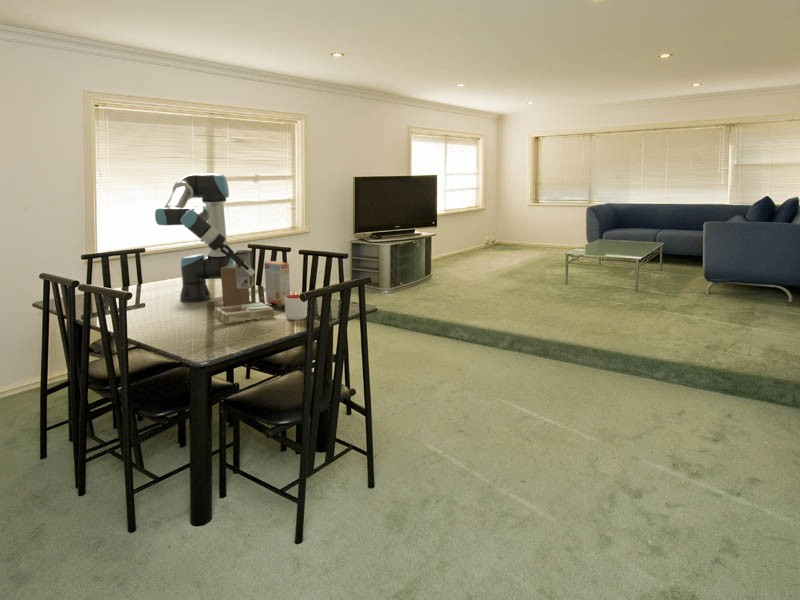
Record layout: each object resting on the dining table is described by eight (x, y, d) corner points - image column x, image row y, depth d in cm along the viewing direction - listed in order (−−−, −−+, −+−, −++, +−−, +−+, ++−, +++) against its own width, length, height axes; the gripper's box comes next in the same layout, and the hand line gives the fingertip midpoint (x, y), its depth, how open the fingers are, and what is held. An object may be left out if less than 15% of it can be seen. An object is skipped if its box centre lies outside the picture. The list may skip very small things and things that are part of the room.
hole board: (215, 316, 270) (214, 307, 269) (261, 310, 281) (261, 301, 280) (225, 323, 256) (225, 314, 255) (274, 317, 267) (273, 307, 266)
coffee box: (240, 284, 270) (238, 250, 266) (254, 284, 270) (252, 249, 267) (236, 288, 261) (234, 252, 257) (250, 288, 261) (248, 252, 258)
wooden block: (241, 308, 286) (238, 268, 281) (222, 307, 288) (219, 267, 283) (250, 304, 295) (248, 265, 291) (232, 303, 297) (229, 264, 293)
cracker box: (291, 304, 295) (289, 262, 290) (281, 305, 291) (279, 264, 286) (276, 300, 305) (273, 260, 300) (266, 301, 300) (263, 261, 296)
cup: (296, 314, 272) (295, 293, 270) (312, 317, 266) (311, 295, 264) (280, 318, 264) (279, 297, 262) (297, 321, 258) (295, 299, 256)
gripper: (204, 242, 266) (242, 274, 275) (209, 248, 245) (249, 282, 254) (216, 230, 267) (253, 262, 276) (222, 234, 246) (261, 269, 255)
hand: (251, 272), depth 265 cm, fingers closed on coffee box, 10 cm apart
